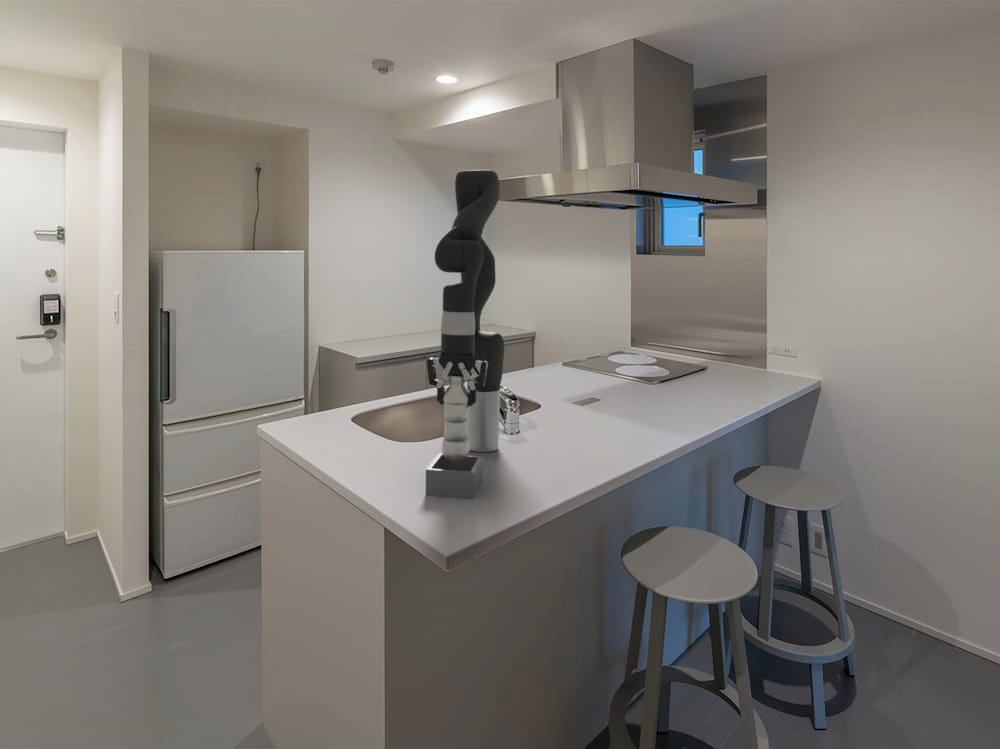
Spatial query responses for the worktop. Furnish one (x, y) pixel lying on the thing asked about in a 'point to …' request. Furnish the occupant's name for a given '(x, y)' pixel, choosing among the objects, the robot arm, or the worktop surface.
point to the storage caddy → (454, 477)
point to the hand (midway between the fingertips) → (456, 404)
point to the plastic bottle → (456, 420)
